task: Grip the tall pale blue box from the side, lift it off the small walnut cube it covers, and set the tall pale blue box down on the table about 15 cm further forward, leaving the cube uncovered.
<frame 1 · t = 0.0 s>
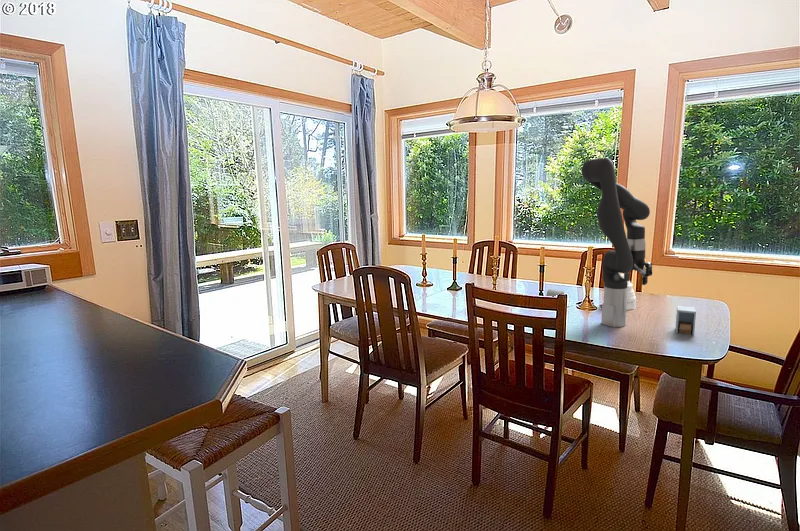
hand: (635, 282, 195), 17 cm above the table, tool pointing down, fingers open, 8 cm apart
tall pale blue box: (684, 331, 179), on the table
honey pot: (621, 306, 219), on the table
cube: (684, 332, 178), on the table
ceramic mug: (555, 303, 230), on the table
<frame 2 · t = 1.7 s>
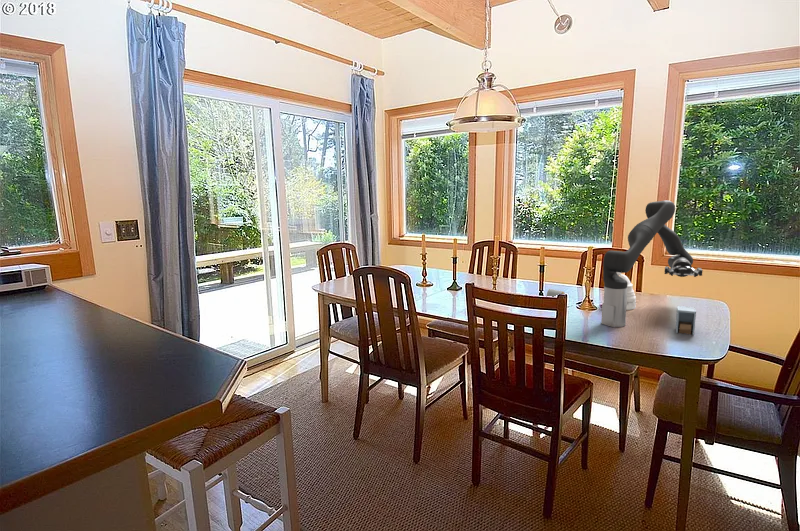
hand: (683, 274, 188), 22 cm above the table, tool horizontal, fingers open, 8 cm apart
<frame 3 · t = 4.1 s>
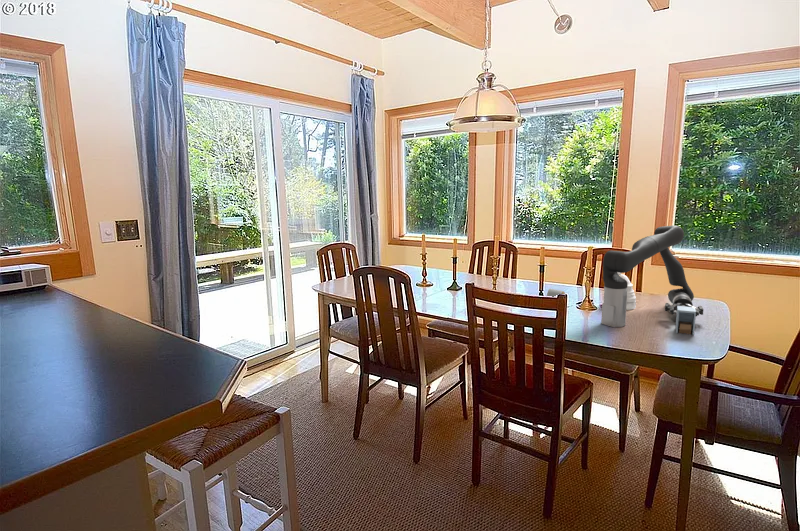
hand: (684, 313, 184), 6 cm above the table, tool horizontal, fingers open, 8 cm apart
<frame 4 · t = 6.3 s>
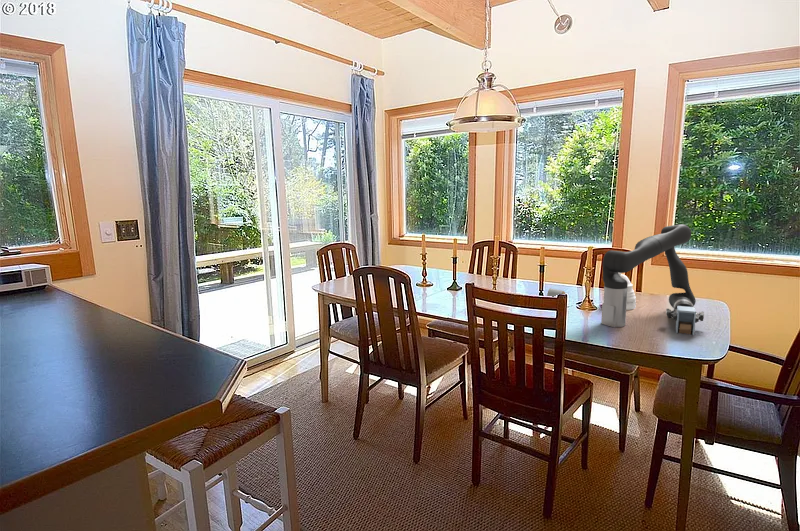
hand: (686, 319, 176), 6 cm above the table, tool horizontal, fingers closed on tall pale blue box, 6 cm apart
tall pale blue box: (684, 331, 179), on the table, touching gripper
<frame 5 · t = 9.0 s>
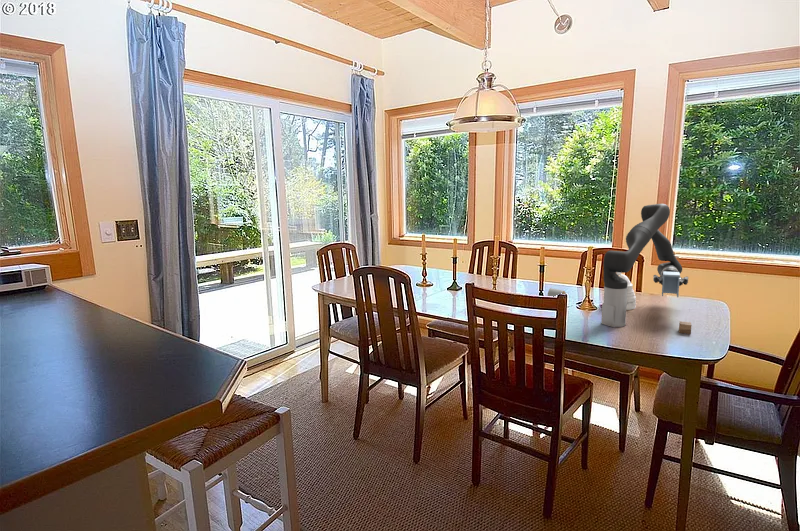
hand: (670, 283, 189), 18 cm above the table, tool horizontal, fingers closed on tall pale blue box, 6 cm apart
tall pale blue box: (669, 294, 192), point 12 cm above the table, touching gripper
when the fingers open (7 cm above the table, at t = 11.6 s): tall pale blue box drops 1 cm, on the table.
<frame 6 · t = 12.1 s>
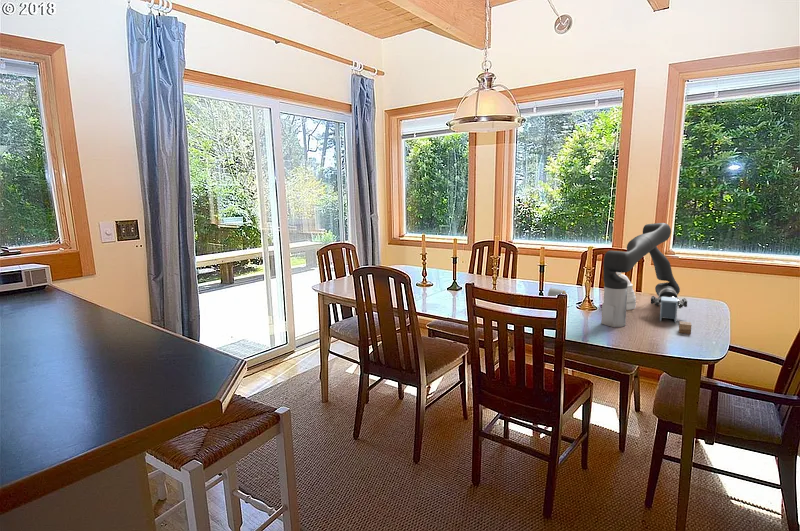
hand: (668, 305, 191), 8 cm above the table, tool horizontal, fingers open, 8 cm apart
tall pale blue box: (667, 320, 194), on the table
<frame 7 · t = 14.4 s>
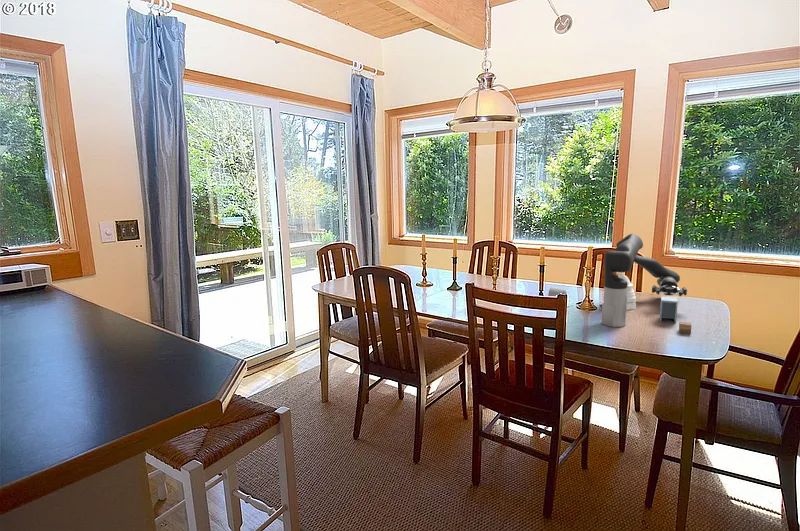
hand: (669, 293, 200), 10 cm above the table, tool horizontal, fingers open, 8 cm apart
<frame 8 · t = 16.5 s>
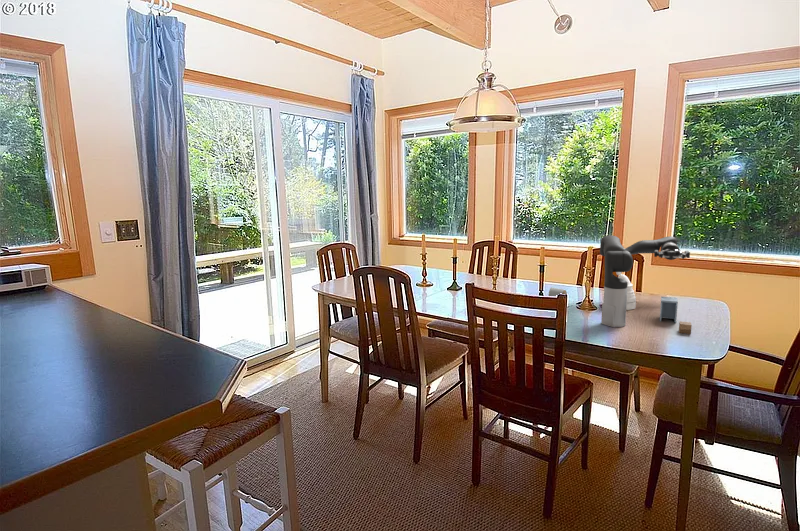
hand: (672, 256, 198), 28 cm above the table, tool horizontal, fingers open, 8 cm apart
at the end: tall pale blue box inside the target area (0.1 cm from its centre), on the table; tall pale blue box tilted 0°; cube moved 0.1 cm from its start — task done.
